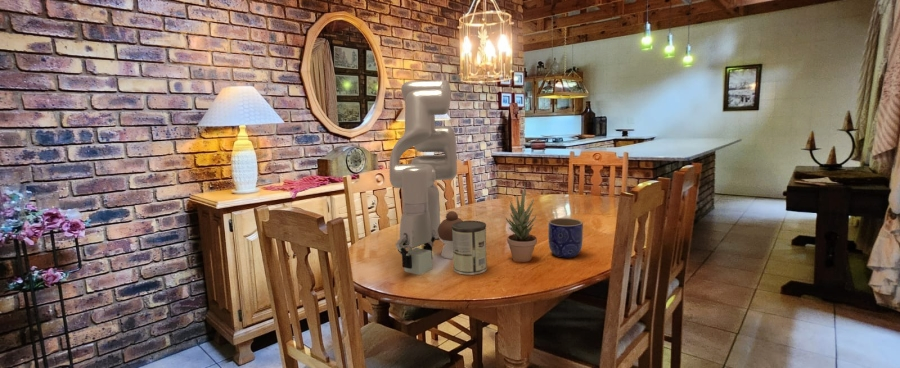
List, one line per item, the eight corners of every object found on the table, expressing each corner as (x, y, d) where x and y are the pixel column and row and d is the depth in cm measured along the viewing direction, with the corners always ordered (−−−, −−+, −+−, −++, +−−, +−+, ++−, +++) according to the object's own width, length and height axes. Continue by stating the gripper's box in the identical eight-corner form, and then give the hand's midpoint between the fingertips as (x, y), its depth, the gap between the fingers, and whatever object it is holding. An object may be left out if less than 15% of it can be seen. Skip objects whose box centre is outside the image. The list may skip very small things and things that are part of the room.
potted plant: (530, 265, 140) (530, 186, 136) (502, 261, 145) (501, 185, 141) (542, 256, 148) (542, 182, 144) (515, 252, 153) (514, 180, 149)
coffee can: (459, 262, 145) (457, 219, 143) (490, 265, 142) (489, 221, 139) (448, 273, 135) (447, 227, 133) (481, 276, 132) (480, 229, 130)
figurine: (438, 259, 148) (437, 214, 146) (438, 251, 158) (436, 209, 155) (468, 258, 149) (467, 213, 147) (466, 249, 158) (464, 207, 156)
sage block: (404, 271, 138) (403, 252, 137) (417, 266, 143) (416, 247, 142) (419, 275, 135) (418, 255, 134) (432, 269, 140) (431, 250, 139)
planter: (546, 250, 155) (546, 218, 153) (578, 249, 154) (578, 217, 153) (551, 260, 144) (551, 226, 143) (586, 259, 144) (586, 225, 142)
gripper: (424, 202, 145) (426, 254, 147) (386, 212, 131) (389, 269, 134) (443, 204, 141) (444, 257, 143) (405, 214, 127) (408, 273, 129)
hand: (417, 263), depth 138 cm, fingers open, 9 cm apart
